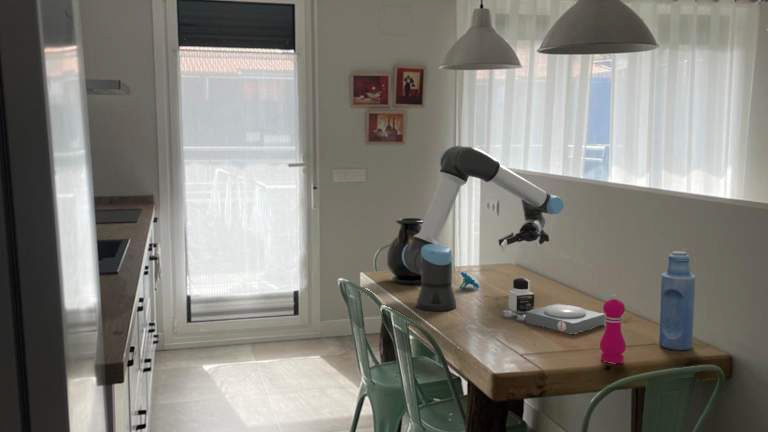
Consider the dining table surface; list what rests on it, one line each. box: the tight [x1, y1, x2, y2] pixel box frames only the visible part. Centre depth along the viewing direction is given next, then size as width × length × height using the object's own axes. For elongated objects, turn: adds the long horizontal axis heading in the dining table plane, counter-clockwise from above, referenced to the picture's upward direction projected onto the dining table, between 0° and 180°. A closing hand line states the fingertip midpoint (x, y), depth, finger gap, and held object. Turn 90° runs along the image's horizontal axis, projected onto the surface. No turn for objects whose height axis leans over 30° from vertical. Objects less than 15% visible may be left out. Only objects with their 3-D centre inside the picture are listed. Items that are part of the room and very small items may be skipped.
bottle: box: [658, 250, 696, 352], centre depth 219 cm, size 10×10×30 cm
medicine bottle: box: [508, 277, 535, 314], centre depth 265 cm, size 7×7×12 cm
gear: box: [459, 271, 480, 290], centre depth 302 cm, size 11×6×10 cm
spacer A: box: [502, 309, 518, 320], centre depth 257 cm, size 5×5×2 cm
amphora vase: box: [385, 217, 425, 286], centre depth 315 cm, size 22×22×28 cm
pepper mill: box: [599, 294, 627, 364], centre depth 206 cm, size 7×7×20 cm
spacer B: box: [516, 313, 526, 323], centre depth 252 cm, size 5×5×2 cm
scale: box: [525, 302, 606, 334], centre depth 246 cm, size 18×20×5 cm
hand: (519, 246), depth 276 cm, fingers open, 13 cm apart
